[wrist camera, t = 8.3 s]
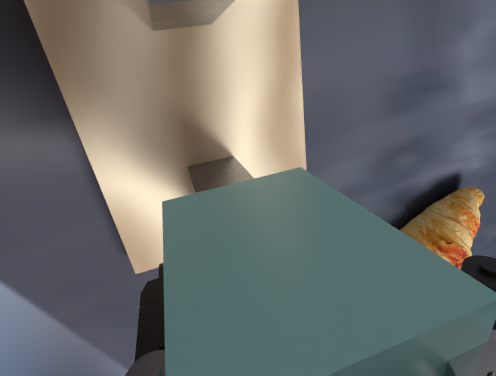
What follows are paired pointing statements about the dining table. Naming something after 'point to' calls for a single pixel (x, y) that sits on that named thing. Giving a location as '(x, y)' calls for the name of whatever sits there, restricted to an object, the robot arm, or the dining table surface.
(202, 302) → the light blue cube
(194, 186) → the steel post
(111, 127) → the birch board
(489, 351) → the robot arm
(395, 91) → the dining table surface
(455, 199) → the croissant
